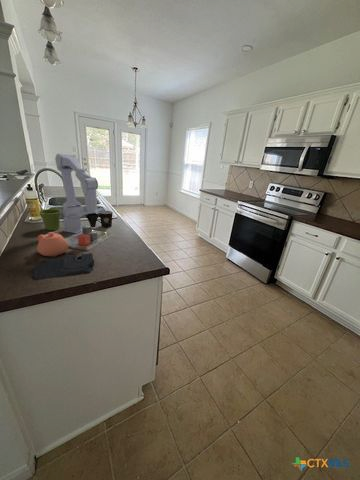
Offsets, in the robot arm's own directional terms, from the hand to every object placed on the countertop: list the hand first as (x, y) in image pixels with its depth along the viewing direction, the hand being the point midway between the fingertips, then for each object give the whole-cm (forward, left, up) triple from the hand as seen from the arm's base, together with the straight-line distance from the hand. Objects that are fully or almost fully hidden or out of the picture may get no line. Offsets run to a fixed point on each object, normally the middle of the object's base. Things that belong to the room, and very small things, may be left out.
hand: (93, 226), depth 109 cm
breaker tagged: (0, -1, -7) cm, 7 cm away
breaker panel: (-5, 0, -8) cm, 10 cm away
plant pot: (-35, +7, -9) cm, 36 cm away
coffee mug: (-11, +26, -9) cm, 30 cm away
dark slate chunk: (+7, -29, -9) cm, 31 cm away
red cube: (0, -8, -7) cm, 10 cm away
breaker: (-9, +6, -7) cm, 13 cm away
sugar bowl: (-9, -20, -9) cm, 23 cm away
